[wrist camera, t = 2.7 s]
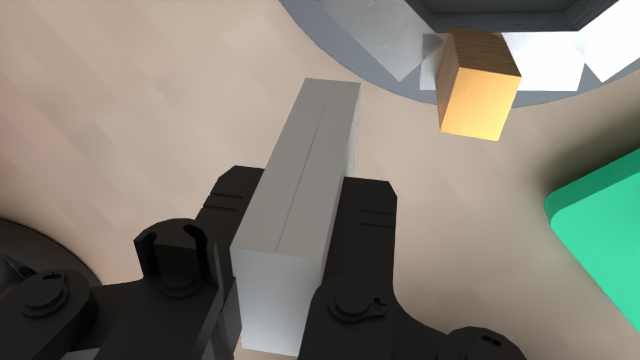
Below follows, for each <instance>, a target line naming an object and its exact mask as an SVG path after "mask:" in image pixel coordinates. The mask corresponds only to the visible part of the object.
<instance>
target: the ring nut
mask: <svg viewBox="0 0 640 360" xmlns="http://www.w3.org/2000/svg"><path fill="white" fill-rule="evenodd" d="M314 1H315V2H316V3H317V4H318V5H319V6H320V7H321V8H322V9H323V10H324V11H326V12H327V13H328V14H329V15H330V16H331V17H332V18H333V19H334V20H335V21H336V22H337V23H338V24H339V25H340V26H341V27H342V28H343V29H344V30H346V31H347V32H348V33H349V34H350V35H351V36H352V37H353V38H354V39H355V40H356V41H357V42H358V43H359V44H360V45H361V46H362V47H363V48H364V49H365V50H367V51H368V52H369V53H370V54H371V55H372V56H373V57H374V58H375V59H376V60H377V61H378V62H379V63H380V64H381V65H382V66H383V67H384V68H385V69H386V70H388V71H389V72H390V73H391V74H392V75H393V76H394V77H395V78H396V79H397V80H398V81H399V82H400V81H401V80H402V79H403V78H404V77H406V76H407V75H408V74H409V73H410V72H411V71H412V70H413V69H415V68H416V67H417V66H418V65H419V85H420V90H436V98H437V107H438V117H439V126H440V131H441V132H447V133H453V134H459V135H465V136H471V137H476V138H482V139H488V140H494V141H498V138H499V136H500V133H501V131H502V128H503V125H504V123H505V120H506V118H507V115H508V113H509V110H510V108H511V105H512V103H513V100H514V98H515V95H516V92H517V90H570V91H577V88H578V84H579V81H580V77H581V73H582V70H583V66H584V62H585V63H586V64H587V65H588V66H589V67H590V68H591V70H592V71H593V72H594V73H595V74H596V75H597V77H598V78H599V79H600V80H601V81H602V82H603V81H605V80H606V79H608V78H609V77H611V76H612V75H614V74H615V73H617V72H618V71H620V70H621V69H623V68H624V67H625V66H627V65H628V64H630V63H631V62H633V61H634V60H636V59H637V58H639V57H640V0H577V1H575V2H574V3H573V4H572V5H570V6H569V7H568V8H567V9H565V10H564V11H563V12H546V13H495V14H445V15H433V14H432V13H431V12H430V10H429V9H428V8H427V7H426V6H425V5H424V4H423V3H422V2H421V1H420V0H314Z"/></svg>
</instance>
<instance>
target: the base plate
mask: <svg viewBox="0 0 640 360" xmlns="http://www.w3.org/2000/svg"><path fill="white" fill-rule="evenodd" d="M279 1H280V2H281V4H282V5H283V6H284V8H285V9H286V10H287V11H288V13H289V14H290V15H291V17H292V18H293V19H294V21H295V22H296V23H297V25H298V26H299V27H300V28H301V29H302V30H303V31H304V32H305V33H306V34H307V35H308V36H309V37H310V38H311V39H312V40H313V41H314V42H315V43H316V44H317V45H318V46H319V47H320V48H321V49H322V50H324V51H325V52H326V53H327V54H328V55H330V56H331V57H332V58H333V59H335V60H336V61H337V62H338V63H340V64H341V65H342V66H344V67H345V68H347V69H348V70H350V71H352V72H353V73H355V74H356V75H358V76H360V77H361V78H363V79H365V80H366V81H368V82H370V83H372V84H374V85H377V86H379V87H381V88H383V89H385V90H388V91H390V92H392V93H394V94H397V95H401V96H404V97H407V98H410V99H413V100H416V101H419V102H423V103H429V104H434V105H437V98H436V90H420V85H419V65H418V66H417V67H416V68H415V69H413V70H412V71H411V72H410V73H409V74H408V75H407V76H406V77H404V78H403V79H402V80H401V81H400V82H399V81H398V80H397V79H396V78H395V77H394V76H393V75H392V74H391V73H390V72H389V71H388V70H386V69H385V68H384V67H383V66H382V65H381V64H380V63H379V62H378V61H377V60H376V59H375V58H374V57H373V56H372V55H371V54H370V53H369V52H368V51H367V50H365V49H364V48H363V47H362V46H361V45H360V44H359V43H358V42H357V41H356V40H355V39H354V38H353V37H352V36H351V35H350V34H349V33H348V32H347V31H346V30H344V29H343V28H342V27H341V26H340V25H339V24H338V23H337V22H336V21H335V20H334V19H333V18H332V17H331V16H330V15H329V14H328V13H327V12H326V11H324V10H323V9H322V8H321V7H320V6H319V5H318V4H317V3H316V2H315V1H314V0H279ZM420 1H421V2H422V3H423V4H424V5H425V6H426V7H427V8H428V9H429V10H430V12H431V13H432V14H433V15H445V14H495V13H546V12H563V11H564V10H565V9H567V8H568V7H569V6H570V5H572V4H573V3H574V2H575V1H577V0H420ZM638 69H640V57H639V58H637V59H636V60H634V61H633V62H631V63H630V64H628V65H627V66H625V67H624V68H623V69H621V70H620V71H618V72H617V73H615V74H614V75H612V76H611V77H609V78H608V79H606V80H605V81H603V82H602V81H601V80H600V79H599V78H598V77H597V75H596V74H595V73H594V72H593V71H592V70H591V68H590V67H589V66H588V65H587V64H586V63H585V62H584V66H583V70H582V73H581V77H580V81H579V84H578V88H577V91H570V90H517V92H516V95H515V98H514V100H513V103H512V105H511V108H517V107H524V106H530V105H537V104H543V103H548V102H551V101H555V100H559V99H563V98H567V97H570V96H574V95H578V94H581V93H583V92H586V91H589V90H591V89H594V88H597V87H600V86H602V85H605V84H608V83H610V82H613V81H615V80H617V79H619V78H621V77H623V76H625V75H627V74H629V73H631V72H633V71H636V70H638Z"/></svg>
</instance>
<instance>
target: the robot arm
mask: <svg viewBox="0 0 640 360" xmlns="http://www.w3.org/2000/svg"><path fill="white" fill-rule="evenodd" d="M360 89H361V83H357V82H345V81H334V80H323V79H312V78H305V81H304V83H303V85H302V87H301V90H300V92H299V94H298V96H297V99H296V101H295V103H294V105H293V108H292V110H291V112H290V114H289V116H288V119H287V121H286V123H285V125H284V128H283V130H282V132H281V134H280V137H279V139H278V141H277V143H276V146H275V148H274V150H273V152H272V154H271V157H270V159H269V161H268V163H267V166H266V168H265V169H262V168H253V167H245V166H236V165H235V166H234V167H232V168H231V169H230V170H228V171H227V172H226V173H224V174H223V175H222V176H220V177H219V178H218V180H217V182H216V183H215V185H214V187H213V189H212V191H211V192H210V196H208V198H207V199H206V201H205V203H204V205H203V208H201V210H200V212H199V213H198V215H197V217H196V219H195V220H193V219H189V218H176V219H170V220H166V221H162V222H158V223H156V224H154V225H152V226H150V227H149V228H147V229H145V230H143V231H142V232H141V233H140V234H139V235H138V236H137V237H136V238H135V239H134V240H133V241H134V245H135V248H136V252H137V255H138V258H139V262H140V265H141V269H142V272H143V275H144V277H143V278H142V279H140V280H137V281H132V282H127V283H120V284H111V285H103V286H101V285H100V283H99V282H98V280H97V279H96V278H95V276H94V275H93V274H92V273H91V272H90V271H89V270H88V269H87V268H86V267H85V266H84V265H83V264H82V263H81V262H80V261H79V260H78V259H77V258H76V257H74V256H73V255H72V254H71V253H69V252H68V251H67V250H65V249H64V248H62V247H61V246H59V245H58V244H56V243H55V242H53V241H51V240H50V239H48V238H46V237H44V236H42V235H40V234H38V233H36V232H34V231H32V230H30V229H28V228H25V227H23V226H20V225H17V224H14V223H11V222H8V221H4V220H0V360H234V356H233V353H234V350H235V348H236V345H237V342H238V339H239V336H240V333H241V340H242V347H243V348H245V349H251V350H257V351H264V352H270V353H276V354H282V355H289V356H295V357H298V359H297V360H527V359H526V358H525V356H524V355H523V354H522V352H521V351H520V349H519V348H518V347H517V346H516V345H515V344H513V343H512V342H511V341H510V340H508V339H507V338H506V337H505V336H503V335H501V334H498V333H496V332H494V331H491V330H489V329H487V328H479V327H470V326H469V327H464V328H460V329H456V330H453V331H452V332H451V333H450V334H448V335H446V334H444V333H441V332H439V331H437V330H435V329H432V328H430V327H428V326H426V325H424V324H422V323H420V322H419V321H417V320H415V319H413V318H412V317H411V316H410V315H409V314H408V313H406V312H405V311H404V310H403V308H402V307H401V306H400V304H399V303H398V302H397V299H396V297H395V295H394V292H393V266H394V248H395V228H396V211H397V196H396V194H395V192H394V190H393V188H392V187H391V185H390V183H389V181H381V180H372V179H363V178H354V177H353V172H354V166H355V153H356V140H357V127H358V114H359V102H360Z"/></svg>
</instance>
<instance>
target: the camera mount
mask: <svg viewBox="0 0 640 360" xmlns="http://www.w3.org/2000/svg"><path fill="white" fill-rule="evenodd" d="M544 210H545V212H546V215H547V218H548V221H549V223H550V226H551V229H552V231H553V232H554V233H555V234H556V235H557V237H558V238H559V239H560V240H561V241H562V243H563V244H564V245H565V246H566V247H567V248H568V250H569V251H570V252H571V253H572V254H573V256H574V257H575V258H576V259H577V260H578V261H579V263H580V264H581V265H582V266H583V267H584V269H585V270H586V271H587V272H588V273H589V274H590V276H591V277H592V278H593V279H594V280H595V282H596V283H597V284H598V285H599V286H600V287H601V289H602V290H603V291H604V292H605V293H606V295H607V296H608V297H609V298H610V299H611V300H612V302H613V303H614V304H615V305H616V306H617V308H618V309H619V310H620V311H621V312H622V314H623V315H624V316H625V317H626V318H627V319H628V321H629V322H630V323H631V324H632V325H633V327H634V328H635V329H636V330H637V331H638V332H639V333H640V148H639V149H637V150H635V151H633V152H631V153H629V154H627V155H625V156H623V157H621V158H619V159H617V160H615V161H613V162H611V163H609V164H607V165H605V166H604V167H602V168H600V169H598V170H596V171H594V172H592V173H590V174H588V175H586V176H584V177H582V178H580V179H578V180H576V181H574V182H572V183H570V184H568V185H566V186H564V187H562V188H560V189H558V190H556V191H554V192H552V193H551V194H550V195H549V196H548V197H547V198H546V200H545V202H544Z"/></svg>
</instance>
